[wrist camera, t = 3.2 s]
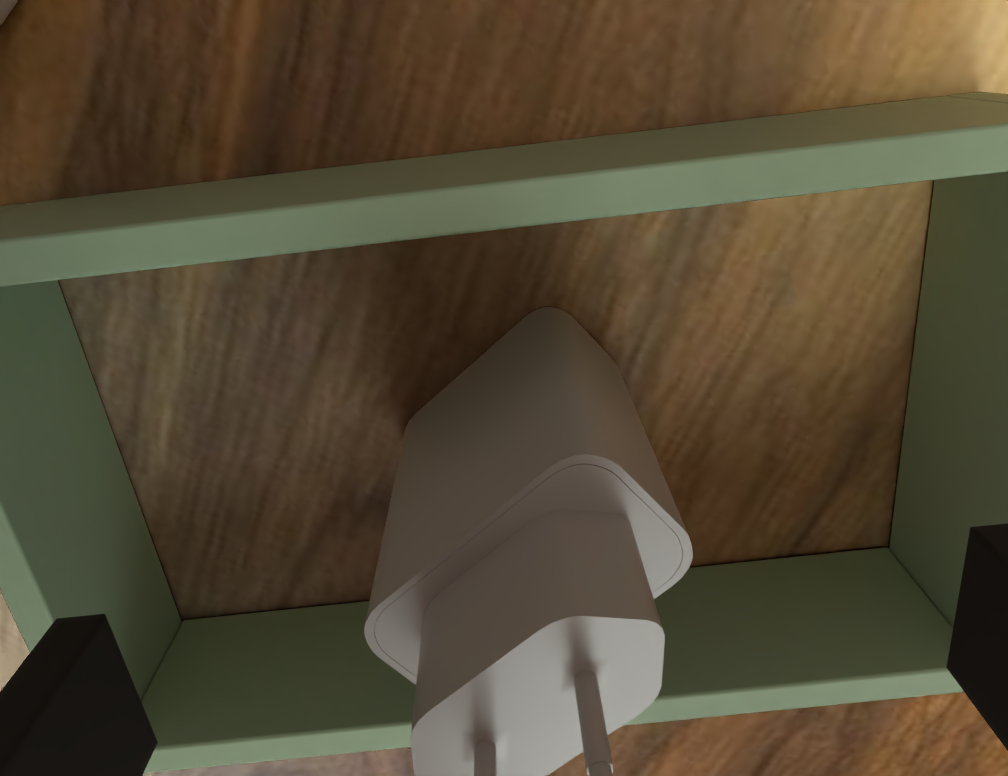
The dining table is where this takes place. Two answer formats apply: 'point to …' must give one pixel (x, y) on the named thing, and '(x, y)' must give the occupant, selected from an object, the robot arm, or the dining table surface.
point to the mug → (6, 8)
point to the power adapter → (526, 560)
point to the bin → (484, 207)
